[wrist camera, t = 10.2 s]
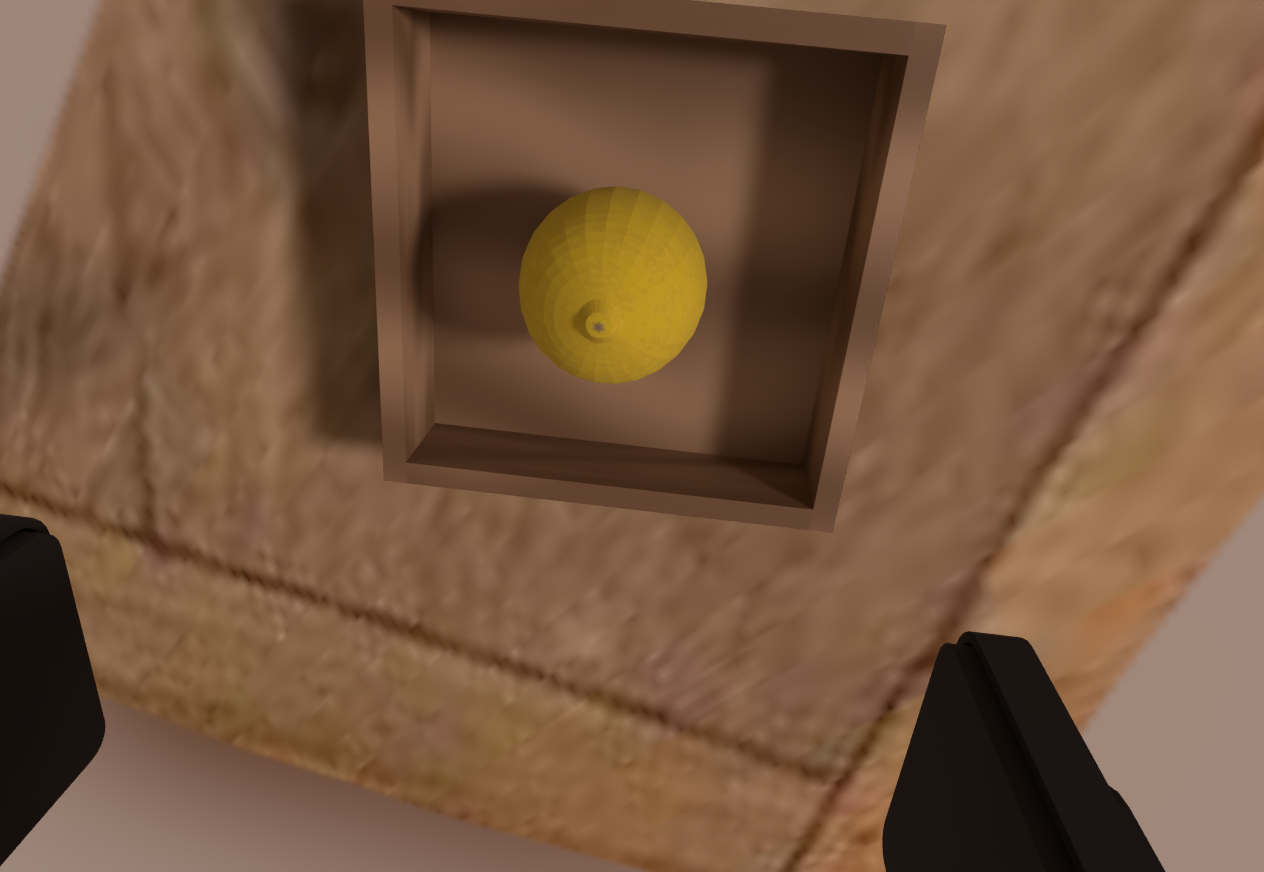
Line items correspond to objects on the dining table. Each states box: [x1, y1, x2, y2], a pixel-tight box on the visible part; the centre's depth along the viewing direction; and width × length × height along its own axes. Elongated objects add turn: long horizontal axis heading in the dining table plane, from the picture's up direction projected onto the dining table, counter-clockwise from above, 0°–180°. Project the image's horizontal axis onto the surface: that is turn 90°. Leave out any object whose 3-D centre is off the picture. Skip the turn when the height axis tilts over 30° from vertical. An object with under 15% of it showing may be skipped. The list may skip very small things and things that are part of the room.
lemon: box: [519, 186, 707, 384], centre depth 24 cm, size 6×6×8 cm
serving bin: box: [363, 0, 946, 533], centre depth 27 cm, size 16×16×4 cm
